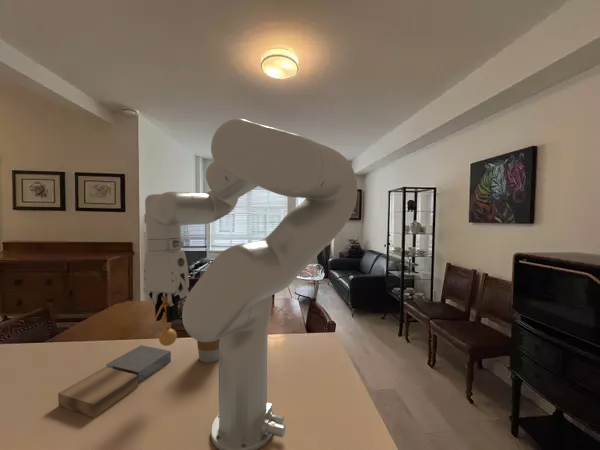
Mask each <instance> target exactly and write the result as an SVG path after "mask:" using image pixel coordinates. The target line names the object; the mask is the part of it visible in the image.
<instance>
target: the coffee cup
mask: <svg viewBox="0 0 600 450" xmlns="http://www.w3.org/2000/svg"><path fill="white" fill-rule="evenodd" d="M196 341H197V340H196ZM219 343H220V339H218V340H216V341H213V342H200V341H197V350H198V359H199V360H200V362H202V363H204V364H205V363H206V364H207V363H208V364H209V363H214V362H216V361H219Z"/></svg>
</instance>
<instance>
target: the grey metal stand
mask: <svg viewBox="0 0 600 450" xmlns="http://www.w3.org/2000/svg"><path fill="white" fill-rule="evenodd" d="M171 353H172V352H171V350H166V349H161V348H156V347H153V346H147V345H144V344H143V345H142V344H141V345H139V346H137V347H135V348H134V349H132V350H130V351H128V352H126V353H124V354H122V355H121V356H119V357H117V358H115V359H113V360H111V361H109V362H108V363H106V365H105V367H108V368H112V369H116V370H120V371H124V372H128V373H132V374H136V375H138V384H140V383H142V382H143V381H145V380H146V379H148V378H149V377H151V376H152V375H153V374H155V373H156V372H157V371H159V370H160V369H162V368H163V367H164V366H166V365H168V364H169V363H170V362H172V354H171Z"/></svg>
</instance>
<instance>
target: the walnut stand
mask: <svg viewBox="0 0 600 450" xmlns="http://www.w3.org/2000/svg"><path fill="white" fill-rule="evenodd" d="M137 388H139V383H138V375H136V374H132V373H128V372H124V371H120V370H116V369H112V368H108V367H106V366H105V367H103V368H101V369H99V370H98V371H97V370H96V372H94V373H92V374H90V375H87V377H85V378H83V379H81V380H79V381H78V382H76V383H74V384H72V385H71V386H69V387H67V388H65V389H63V390H62V391H60V392H58V393H57V395H58V396H57V397H58V407H60V408H63V409H66V410H70V411H73V412H76V413H78V414H82V415H84V416H87V417H90V418H96V417H98V416H99V415H100V414H102V413H104V411H106V410H107V409H109V408H111V407H112V406H113V405H115V404H116V403H117V402H118V401H121V400H122V399H123V398H124V397H126V396H127V395H128V394H130V393H132V392H133V391H134V390H136V389H137Z"/></svg>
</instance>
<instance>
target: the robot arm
mask: <svg viewBox="0 0 600 450" xmlns="http://www.w3.org/2000/svg"><path fill="white" fill-rule="evenodd" d="M213 134H214V135H213V136H212V140H211V143H210V145H211V146H210V153H211V156H212V159H213V161H212V162H211V163H210V164H209V165H208V166H207V167H206V172H205V179H206V182H207V183H206V184H207V185H208V187H209V189H210V190H209V191H208V192H205V193H203V192H191V191H190V192H189V191H183V192H182V191H166V192H163V193H161V194H160V193H157V194H155V193H154V194H149V195H147V196H146V198H145V201H144V207H145V208H144V209H145V232H146V233H145V234H146V235H145V236H146V251H145V254H144V255H145V257H144V262H143V286H144V287H143V288H144V289H143V292H144V293H145V294H146V295H148V296H149V298H150V299H151V300H152V301H151V303H152V305H154V312H155V313H154V315H155V318H156V315H157V313H158V311H159V308H160V306H161V305H162V304H163V301H162V300H161V297H162V296H165V297H168V305H169V306H166V317H167V320H166V322H167V323H168V324H170V322H175V321H176V320H178V318H179V304H180V303H181V301H182V299H183V298H185V297H186V298H185V300H184V302H183V306H182V312H181V315H182V316H181V318H182V324H183V327H184V329H185V331H186V333H187V334H188V335H189V336H190V337H191V339H194V340H195V341H200V342H213V341H216V340H218V339H220V343H219V359H218V414H217V416H216V417H215V418H214V419H213V422H212V424H211V428H210V438H211V442H212V443H213V445H214V446H215V447H216V449H218V450H259V449H261V448H262V447H263V446H265V445H266V444H267V443H268V442H269V441H270V439H271V438H272V436H275V437H279V438H284V436H285V433H286V425H284V424H283V423H284V420H285V416H283V415H279V414H274V412H273V411H272V406H273V404H272V403H270V402H268V335H269V325H270V319H271V313H272V309H273V307H272V306H273V295H276V294H278V293H280V292H282V291H284V290H285V289H287V287H289V286H290V285H291V284H292V283H293V282H294V280H296V278H297V277H298V276H300V274H301V273H302V272H303V271H304V270H305V269H306V268H307V267H308V266H309V265H310V264H311V263H312V262H313V261H314V260H315V259H316V258H317V257H318V255H319V254H320V253H321V252H322V251H323V250H325V248H326V247H327V246H329V244H330V243H331V242H332V241H333V240H334V239H335V238H336V237H337V235H339V234H340V232H342V230H343V229H344V227H346V224H347V223H348V221H349V220H350V218H351V216H352V215H353V213H354V210H355V206H356V203H357V200H358V181H357V175H356V173H355V169H354V168H353V167H352V164H351V163H350V162H349V160H348V159H347V158H346V157H345V156H344V155H343V154H341V153H340V152H339V151H338V150H335V149H333V148H331V147H329V146H327V145H324V144H321V143H319V142H316V141H315V140H312V139H309V138H307V137H305V136H303V135H299V134H297V133H296V134H295V133H293V132H290V131H286V130H282V129H278V128H275V127H270V126H267V125H263V124H260V123H256V122H252V121H249V120H247V119H244V118H233V119H229V120H227V121H225V122H224V123H222V124H221V125H220V126H219V127H218V128H217V129H216V131H215V132H214V133H213ZM258 187H259V188H260V189H264V190H266V191H268V192H271V193H274V194H277V195H280V196H285V197H289V198H298V199H299V198H302V199H304V200H303V201H302V202H300V204H299V205H297V206H296V207H295V208H294V209H292V210H291V211H290V212H289V213H287V214H286V215H285V216H284V217H283V218H282V220H281V221H280V222H279V223H278V225H277V226H276V227H275V229H273V230H272V231H271V232H270V234H269V235H267V236H266V237H264V238H263V239H260V240H257V241H251V242H246V243H239V244H235V245H232V246H229V247H228V248H227V249H224V250H223V251H222V252H220V253H219V254H218V255H217V256H216V257H215V258H214V259H213V261H212V262H210V264H209V266H208V267H207V268H206V269H205V271H204V272H203V273H202V275H201V276H200V277H199V279H198V280H197V281H196V282H195V284H194V286H193V287H192V288H191V289H190V288H189V287H190V278H189V277H190V276H189V275H190V274H189V266H188V261H187V257H186V256H187V255H186V252H185V250H183V249H182V248H183V246H184V241H182V234H181V233H182V231H181V227H182V226H191V225H205V224H206V225H207V224H211V223H214V222H216V221H218V220H220V219H222V218H224V217H225V216H227V215H229V214H230V213H232V212H233V211H234V209H235V208H236V206H237V203H238V202H239V198H241V197H243V196H244V195H246V194H247V193H249V192H251V191H253V190H254V189H256V188H258ZM189 289H190V291H189ZM166 295H167V296H166ZM164 311H165V309H164V307H163V308H162V309H161V311H160V313H159V315H158V317H157V319H156V322H159V321H160V322H161V318H162V316H163V313H164Z"/></svg>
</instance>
